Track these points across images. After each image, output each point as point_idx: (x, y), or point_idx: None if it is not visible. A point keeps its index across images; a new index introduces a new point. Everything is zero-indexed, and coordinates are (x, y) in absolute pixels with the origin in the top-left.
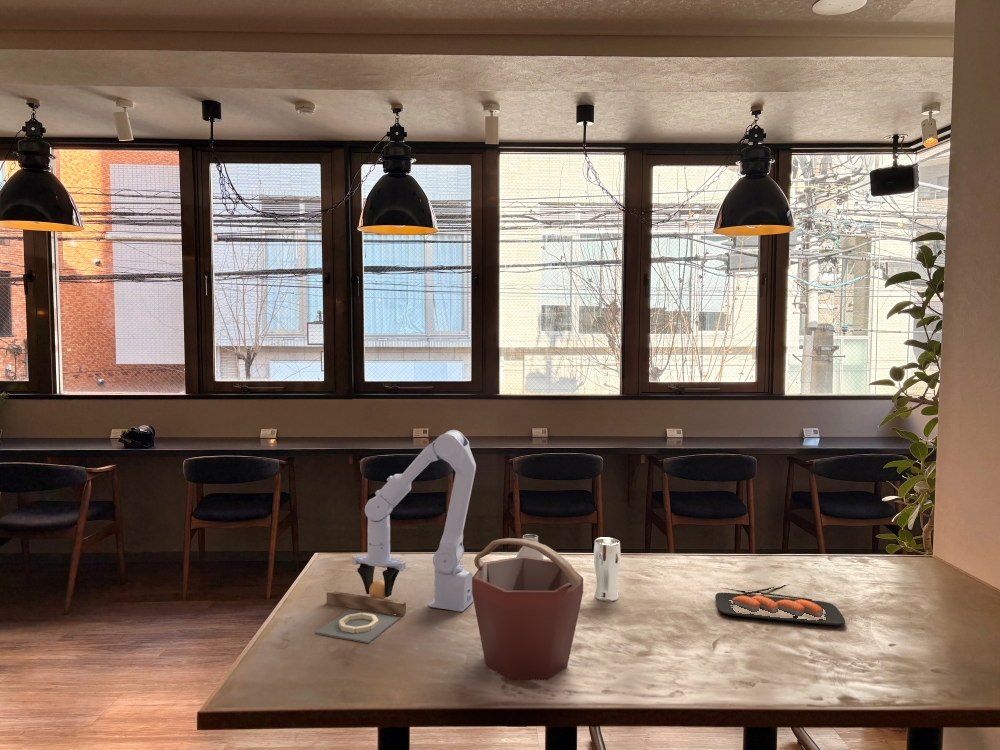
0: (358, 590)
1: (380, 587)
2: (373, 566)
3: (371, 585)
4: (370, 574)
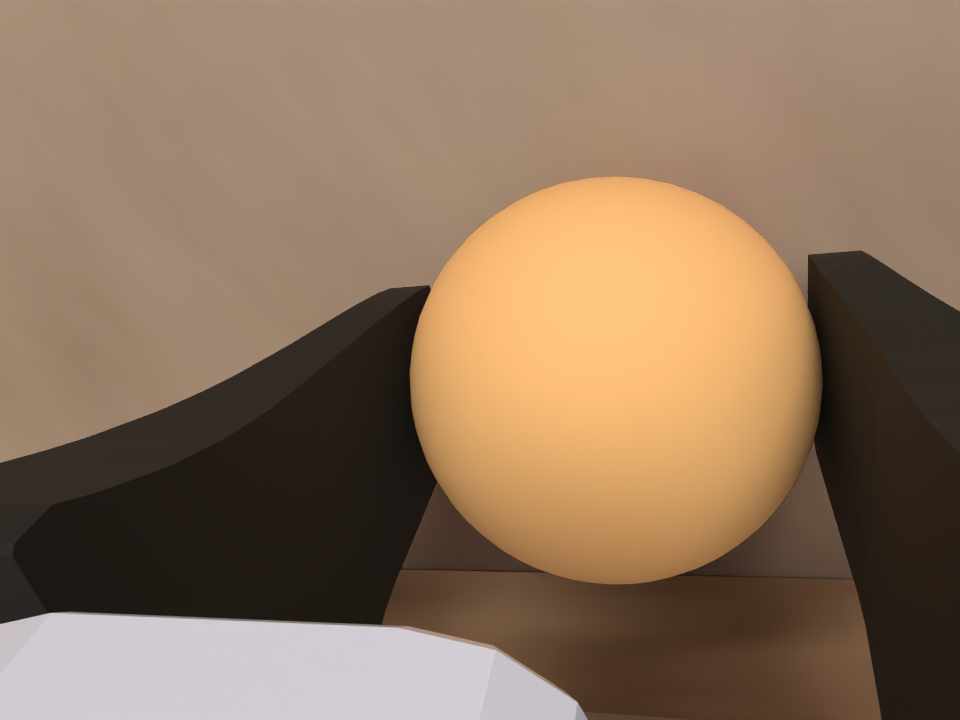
0: (54, 109)
1: (730, 549)
2: (135, 578)
3: (502, 548)
4: (294, 570)
